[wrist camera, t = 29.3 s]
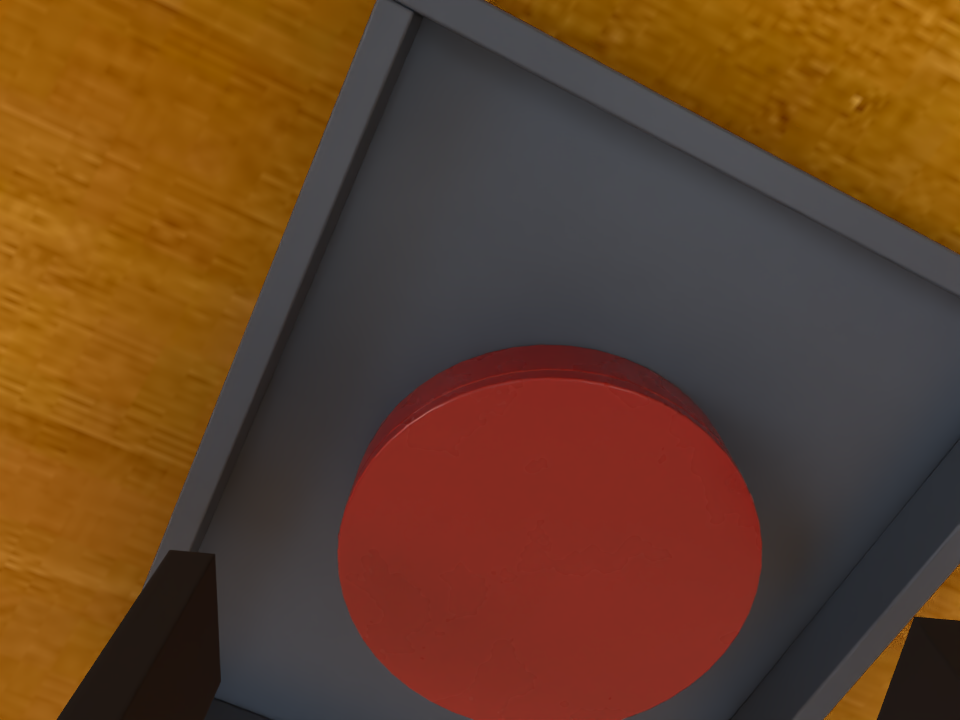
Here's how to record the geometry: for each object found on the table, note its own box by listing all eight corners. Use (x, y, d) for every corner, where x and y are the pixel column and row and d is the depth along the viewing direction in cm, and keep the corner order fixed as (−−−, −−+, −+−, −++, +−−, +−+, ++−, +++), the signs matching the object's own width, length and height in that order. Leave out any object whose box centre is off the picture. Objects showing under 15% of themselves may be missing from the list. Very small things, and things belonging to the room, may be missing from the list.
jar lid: (343, 655, 18) (328, 712, 17) (354, 324, 15) (337, 356, 14) (697, 688, 18) (715, 748, 17) (779, 364, 15) (810, 400, 14)
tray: (409, -36, 13) (395, -48, 12) (1071, 318, 15) (1145, 354, 14) (123, 667, 19) (85, 730, 18) (628, 857, 21) (639, 931, 19)
